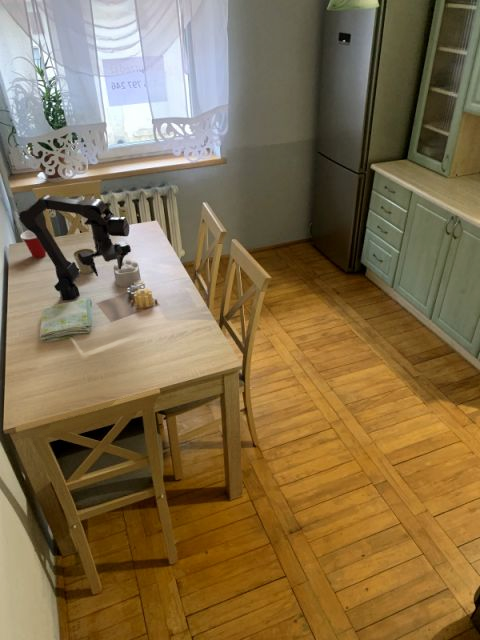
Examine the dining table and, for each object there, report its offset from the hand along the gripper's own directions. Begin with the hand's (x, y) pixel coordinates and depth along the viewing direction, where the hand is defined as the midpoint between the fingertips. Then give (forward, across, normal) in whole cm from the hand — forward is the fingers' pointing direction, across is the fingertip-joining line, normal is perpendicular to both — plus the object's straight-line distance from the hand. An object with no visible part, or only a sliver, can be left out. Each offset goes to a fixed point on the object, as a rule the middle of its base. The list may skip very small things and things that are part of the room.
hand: (108, 272), depth 179 cm
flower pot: (+13, 0, +32) cm, 35 cm away
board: (+13, +3, -7) cm, 15 cm away
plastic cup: (+13, -14, +60) cm, 63 cm away
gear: (+12, +8, -3) cm, 15 cm away
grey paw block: (+13, +11, +12) cm, 21 cm away
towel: (+14, -20, -5) cm, 25 cm away
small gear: (+12, +12, +2) cm, 17 cm away
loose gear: (+12, +8, -10) cm, 18 cm away
